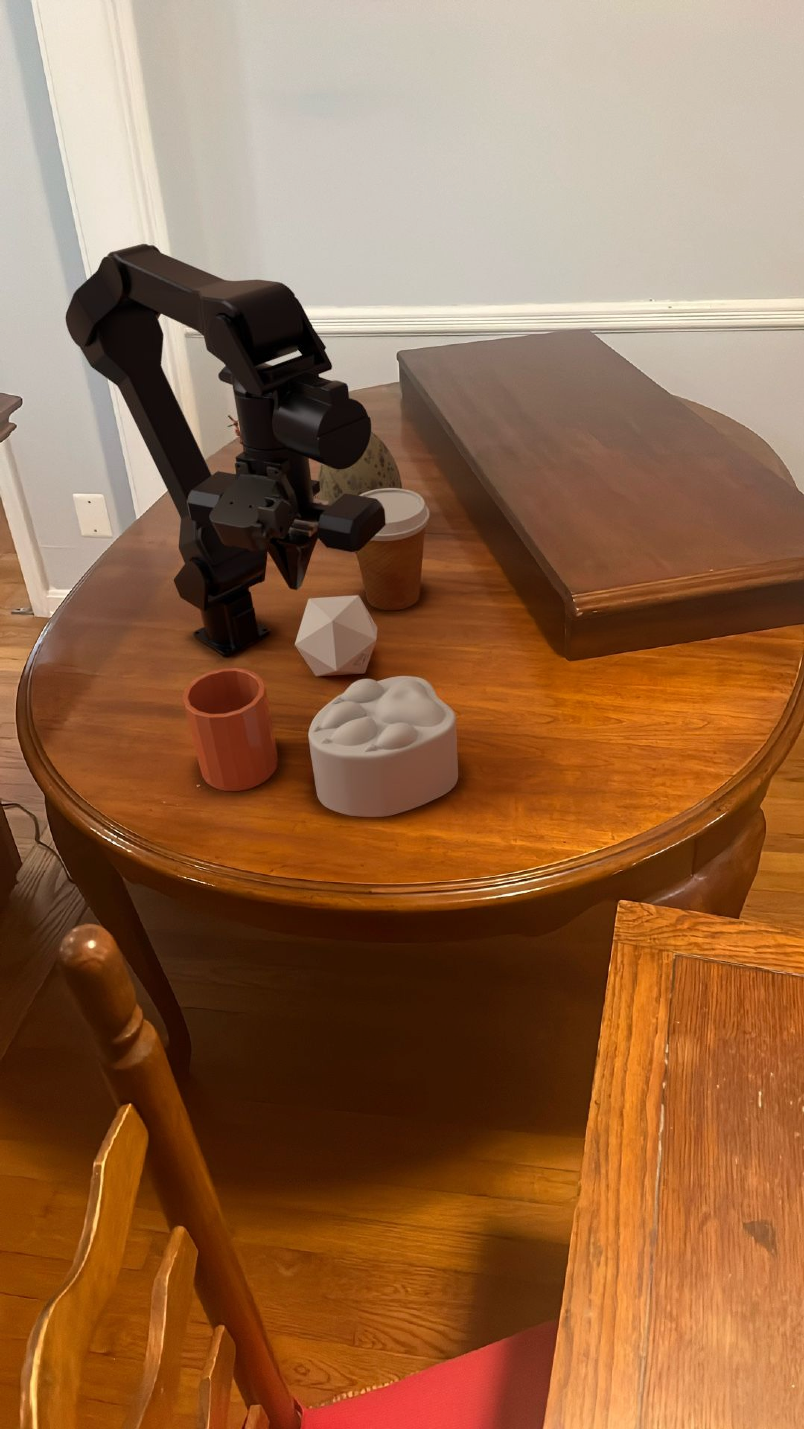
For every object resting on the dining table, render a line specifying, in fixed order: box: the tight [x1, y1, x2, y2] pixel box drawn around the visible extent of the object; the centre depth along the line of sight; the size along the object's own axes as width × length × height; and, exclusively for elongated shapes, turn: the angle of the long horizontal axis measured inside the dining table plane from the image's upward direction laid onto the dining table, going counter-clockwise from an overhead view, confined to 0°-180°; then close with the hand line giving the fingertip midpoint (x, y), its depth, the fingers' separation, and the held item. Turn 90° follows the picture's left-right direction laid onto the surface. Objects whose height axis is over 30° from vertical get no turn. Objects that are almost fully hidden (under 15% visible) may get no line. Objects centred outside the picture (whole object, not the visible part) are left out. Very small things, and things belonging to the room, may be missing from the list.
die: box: [294, 594, 378, 677], centre depth 106 cm, size 8×9×10 cm
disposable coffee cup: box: [355, 488, 430, 611], centre depth 115 cm, size 10×10×12 cm
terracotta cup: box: [182, 667, 279, 792], centre depth 93 cm, size 7×7×9 cm
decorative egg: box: [317, 430, 403, 506], centre depth 126 cm, size 11×11×15 cm
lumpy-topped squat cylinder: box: [308, 675, 459, 818], centre depth 91 cm, size 10×13×9 cm
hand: (295, 587), depth 98 cm, fingers closed
